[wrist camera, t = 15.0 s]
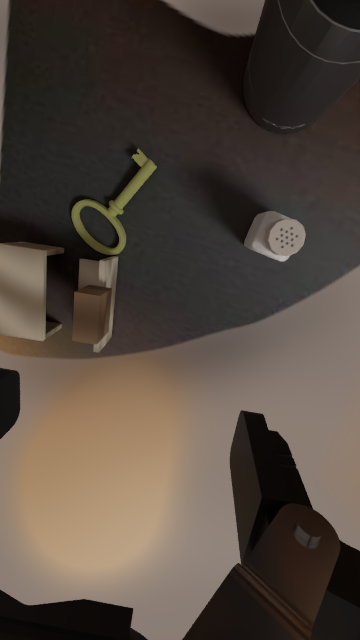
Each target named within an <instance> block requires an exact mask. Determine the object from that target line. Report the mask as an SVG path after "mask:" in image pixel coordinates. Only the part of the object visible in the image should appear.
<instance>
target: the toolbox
mask: <svg viewBox="0 0 360 640" xmlns="http://www.w3.org/2000/svg"><path fill="white" fill-rule="evenodd" d="M61 253H64V248H61V247H54V246H48V245H42V244H35V243H29V242H11V243H0V334H2V335H8V336H14V337H20V338H26V339H32V340H39V341H44V340H45V339H47V338H48V337H49V336H51V335H52V334H54V333H55V332H57V331H58V330H59V329H61V328H62V324H60V323H54V322H48V321H46V266H47V256H49V255H55V254H61Z"/></svg>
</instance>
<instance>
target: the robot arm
mask: <svg viewBox="0 0 360 640" xmlns="http://www.w3.org/2000/svg"><path fill="white" fill-rule="evenodd" d="M359 79H360V0H265V4H264V7H263V10H262V14H261V17H260V21H259V24H258V28H257V31H256V35H255V38H254V42H253V45H252V48H251V51H250V55H249V59H248V62H247V66H246V69H245V74H244V80H243V94H244V100H245V104H246V106H247V109H248V111H249V113H250V115H251V116H252V118H253V119H254V121H255V122H257V123H258V124H259V125H260V126H261V127H262V128H264V129H266V130H268V131H270V132H274V133H277V134H289V133H294V132H298V131H300V130H302V129H304V128H306V127H308V126H309V125H310V124H312V123H313V122H314V121H316V120H317V119H318V118H319V117H320V116H321V115H322V114H323V113H324V112H325V111H326V110H327V109H328V108H329V107H331V106H332V105H333V104H334V103H335V102H336V101H337V100H338V99H339V98H340V97H341V96H342V95H343V94H344V93H345V92H346V91H347V90H348V89H350V88H351V87H352V86H353V85H354V84H355V83H356V82H357V81H358V80H359ZM19 412H20V377H19V373H18V372H17V371H15V370H9V369H3V368H0V439H1V438H2V437H3V436H4V435H5V434H6V433H7V432H8V431H9V430H10V428H12V426H13V425H14V424H15V422H16V421H17V418H18V416H19ZM230 469H231V479H232V487H233V497H234V505H235V513H236V522H237V532H238V541H239V549H240V558H241V565H242V566H241V565H240V564H239V563H238V564H236V565H235V566H234V567H233V568H232V570H231V571H230V573H229V574H228V575H227V577H226V578H225V580H224V581H223V582H222V584H221V585H220V587H219V588H218V590H217V591H216V592H215V594H214V595H213V597H212V598H211V599H210V601H209V602H208V604H207V605H206V607H205V608H204V610H203V611H202V612H201V614H200V615H199V617H198V618H197V619H196V621H195V622H194V624H193V625H192V627H191V628H190V629H189V631H188V632H187V634H186V635H185V637H184V638H183V639H182V640H360V551H359V550H357V549H355V548H353V547H350V546H349V545H346V544H345V543H343V542H342V541H340V540H339V538H338V535H337V533H336V531H335V530H334V528H333V527H332V525H331V524H330V523H329V522H328V521H327V520H326V519H325V518H324V517H323V516H322V515H321V514H319V513H318V512H317V511H315V510H313V508H312V505H311V503H310V500H309V498H308V495H307V492H306V490H305V487H304V485H303V482H302V480H301V477H300V474H299V472H298V469H296V464H295V462H294V459H293V458H292V454H291V451H290V449H289V446H288V444H287V442H286V441H285V440H284V439H283V438H282V437H281V436H280V435H279V433H278V432H277V431H270V430H268V427H267V424H266V421H265V418H264V415H263V414H259V413H254V412H248V411H241V412H240V414H239V418H238V422H237V426H236V430H235V434H234V438H233V442H232V446H231V452H230ZM132 614H133V608H128V607H123V606H117V605H112V604H107V603H102V602H97V601H91V600H86V599H82V600H73V601H65V602H57V603H48V604H40V605H25V604H23V603H20V602H19V601H18V600H16V599H14V598H13V597H11V596H10V595H8V594H6V593H5V592H3V591H1V590H0V640H147V639H146V638H145V637H144V636H143V635H141V634H140V633H138V632H137V631H135V630H134V629H132V628H130V627H131V620H132Z"/></svg>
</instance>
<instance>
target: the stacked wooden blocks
mask: <svg viewBox="0 0 360 640" xmlns="http://www.w3.org/2000/svg"><path fill="white" fill-rule="evenodd" d="M117 266H118V257H116V256H112V257H109V258H106V259H102V260H100V261H93V260H87V259H80V262H79V283H78V290H77V291H75V292H74V313H73V336H72V341H78V342H84V343H90V344H94V352H98V353H99V352H100V350H101V349H102V348H103V347H104V346H105V344H106V343H107V342H108V341H109V340H110V338H111V336H112V325H113V313H114V301H115V289H116V278H117Z"/></svg>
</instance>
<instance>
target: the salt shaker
mask: <svg viewBox="0 0 360 640" xmlns="http://www.w3.org/2000/svg"><path fill="white" fill-rule="evenodd" d="M305 236H306V234H305V231H304V228H303V225H302V224H300V222H298V221H297V220H296V219H291V218H289V217H287V216H284V215H282V214H279V213H277V212H274V211H267V212H264V213H260V214H258V215H257V216H256V217H255V218H254V220H253V223H252V225H251V227H250V229H249V231H248V234H247V236H246V238H245V240H244V245H245V246H246V247H247V248H249V249H251V250H253V251H256V252H258V253H260V254H263V255H265V256H268V257H270V258H273V259H275V260H278V261H285V260H287V259H288V258H289V256H290V255H292V254H294V253H297V252H298V250H299V249H300V248H301V247H302V246H303V244H304V240H305Z"/></svg>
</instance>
